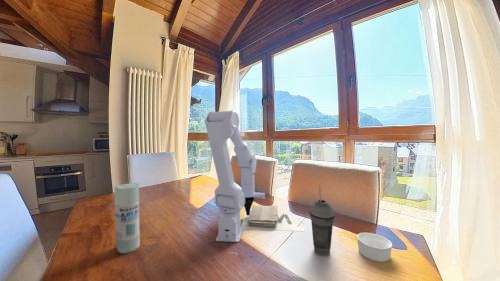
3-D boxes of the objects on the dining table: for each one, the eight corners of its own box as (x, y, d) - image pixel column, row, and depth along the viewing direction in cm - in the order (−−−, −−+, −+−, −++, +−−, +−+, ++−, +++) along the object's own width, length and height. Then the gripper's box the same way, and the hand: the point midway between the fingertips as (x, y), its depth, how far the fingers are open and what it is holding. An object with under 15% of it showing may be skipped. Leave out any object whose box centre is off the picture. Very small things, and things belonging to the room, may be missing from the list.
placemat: (304, 231, 71) (304, 231, 71) (240, 229, 73) (240, 228, 73) (296, 209, 92) (296, 209, 92) (246, 208, 94) (246, 207, 94)
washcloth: (247, 227, 74) (247, 219, 74) (252, 209, 92) (252, 203, 92) (278, 229, 73) (278, 221, 73) (277, 210, 91) (277, 203, 90)
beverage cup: (318, 260, 54) (318, 190, 54) (304, 246, 61) (304, 184, 61) (340, 256, 56) (340, 188, 56) (324, 242, 63) (324, 182, 63)
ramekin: (350, 246, 61) (350, 232, 61) (377, 244, 62) (377, 231, 62) (369, 265, 53) (370, 249, 52) (400, 263, 53) (400, 247, 53)
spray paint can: (135, 239, 66) (134, 182, 66) (143, 246, 62) (141, 185, 62) (113, 248, 61) (111, 186, 61) (120, 256, 57) (118, 189, 57)
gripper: (264, 181, 86) (265, 211, 86) (232, 180, 87) (233, 210, 88) (264, 185, 79) (264, 217, 79) (229, 184, 80) (230, 216, 81)
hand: (248, 214), depth 83 cm, fingers closed
